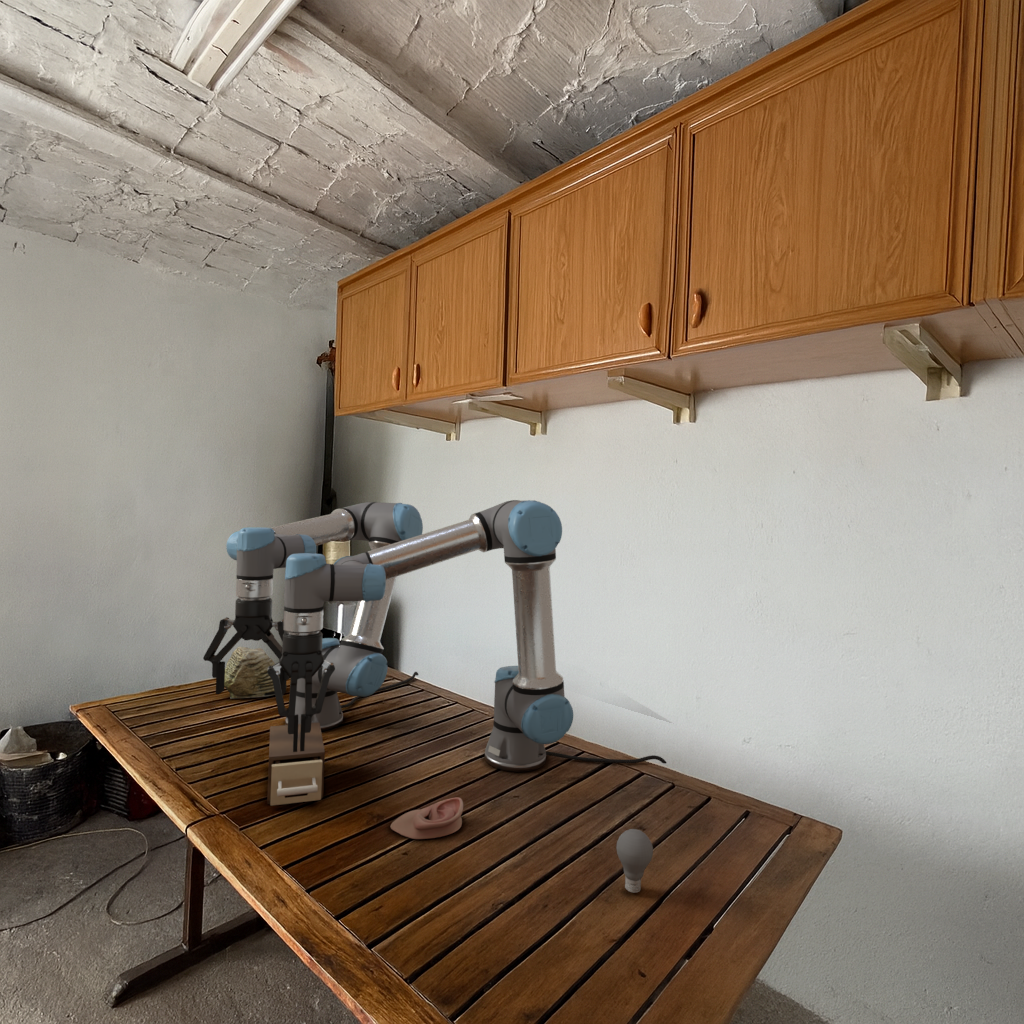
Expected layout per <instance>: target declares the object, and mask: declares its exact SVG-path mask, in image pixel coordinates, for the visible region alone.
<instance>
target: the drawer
mask: <svg viewBox="0 0 1024 1024" xmlns="http://www.w3.org/2000/svg"><path fill="white" fill-rule="evenodd" d="M321 788H322V760H318V756H317V757H306V758H296V759H285V760H275V764H272V775H271V802H270V804H269V805H270V806H279V805H281V806H282V805H289V804H297V803H303V802H305V803H306V802H313V801H315V802H316V801H321V800H322V798H321Z"/></svg>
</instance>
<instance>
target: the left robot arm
mask: <svg viewBox="0 0 1024 1024" xmlns="http://www.w3.org/2000/svg"><path fill="white" fill-rule="evenodd" d="M423 529H424V526H423V519H422V517H421V513H420V512H419V510H418V508H416V507H415V506H414V505H411V504H408V503H403V502H380V501H379V502H378V501H366V502H361V503H357V504H353V505H349V506H345V507H340V508H336V509H334V510H332V512H331V513H329V514H325V515H320V516H316V517H312V518H307V519H302V520H297V521H294V522H289V523H284V524H281V525H275V526H271V527H257V526H256V527H255V526H253V527H249V526H247V527H242V528H240V529H239V530H238V531H234V532H233V533H232V534H231V535H230V536H229V537H228V538H227V541H226V545H225V546H226V552H227V555H228V557H230V559H232V560H234V561H236V577H235V578H236V579H235V596H236V600H235V603H234V604H235V606H234V607H235V609H234V616H235V617H234V619H231V618H229V617H224V618H222V619H220V620H219V624H218V630H217V631H216V633H215V634H214V636H213V638H212V641H211V642H210V644H209V646H208V648H207V649H206V652H205V653H204V655H203V661H205V662H209V663H211V677H212V678H213V679H215V695H221V694H222V693H223V692H224V691H225V687H224V683H225V668H226V661H224V660H223V659H224V658H225V657H226V656H227V654H228V653H229V652H230V651H231V650H232V649H233V648H234V647H236V645H237V644H238V643H239V642H240V641H241V640H244V641H256V642H257V641H258V642H259V641H262V642H263V643H264V644H266V645H267V646H268V647H269V649H270V650H271V651H272V653H273V654H274V655H275V656H276V657H277V659H278V660H279V659H280V657H281V656H282V646H283V645H281V644H280V643H279V641H278V640H277V639H276V638H275V634H273V633H272V631H271V630H272V629H273V628H274V629H275V630H276V631H277V632H278V635H279V638H280V639H281V642H282V643H283V634H284V633H285V632H286V631H285V630H283V620H284V618H283V619H281V620H273V599H272V596H273V592H274V590H273V588H274V570H276V569H284V568H285V569H286V560H287V558H288V557H289V556H290V555H292V554H298V553H312V554H317V546H320V545H324V544H328V543H332V542H335V541H338V542H342V543H345V542H349V541H366V542H367V545H368V546H369V548H370V549H371V550H374V549H377V548H380V547H383V546H387V545H390V544H393V543H396V542H399V541H403V540H406V539H409V538H412V537H415V536H419V535H422V534H423V531H424V530H423ZM371 550H370V551H371ZM396 581H397V577H394V578H391V579H388V580H386V587H385V594H384V597H383V598H382V599H381V600H375V601H368V602H365V601H357V604H356V606H355V607H356V608H355V611H354V614H353V617H352V621H351V624H350V629H349V632H348V633H347V635H346V636H344V637H343V638H341V640H339V639H338V638H335V637H324V638H323V637H322V655H323V656H324V660H325V661H327V662H329V663H333V664H334V666H335V670H334V672H333V673H332V675H331V676H330V679H329V682H328V686H327V690H326V694H325V698H324V702H323V706H322V710H321V712H320V713H319V714H314V715H313V716H312V718H311V723H320V727H321V732H325V731H329V730H332V729H335V728H337V727H339V726H340V725H342V723H343V722H344V714H343V709H345V708H349V707H350V706H352V705H353V704H354V703H355V702H356V701H357V700H359V699H361V698H364V697H365V698H367V697H370V696H372V695H373V694H375V693H378V692H381V691H385V690H389V689H392V688H396V687H398V686H401V685H404V684H407V683H409V682H410V681H412V680H414V679H415V677H416V676H419V672H418V671H414V672H413V674H412V675H411V677H409V678H406V679H405V680H402V681H400V682H396V683H392V684H390V685H389V684H388V685H386V686H383V684H384V682H385V680H386V679H387V678H386V677H387V674H388V669H389V667H388V660H387V658H386V657H385V655H383V653H384V649H385V648H384V646H383V645H382V643H381V638H382V634H383V630H384V627H385V623H386V619H387V615H388V611H389V608H390V604H391V600H392V596H393V593H394V588H395V585H396ZM232 626H233V628H234V629H235V631H236V633H235V634H233V636H232V637H231V638H230V640H229V641H228V642H227V643H226V644H225V645H224V646H223V647H222V648H221V649H220V650H219V651H218V649H219V647H220V646H221V644H222V641H223V639H224V638H225V636H226V635H227V633H228V630H229V629H231V628H232ZM217 651H218V653H216V652H217ZM322 668H323V666H322V665H321V667H320V668H319V669H318V671H317V672H316V673H315V675H314V676H313V677H312V707H313V706H315V702H316V699H317V695H318V691H319V687H320V683H321V679H322V675H323V671H322ZM279 679H280V684H281V689H282V695H283V696H284V695H285V694H286V693H287V687H286V685H287V681H289V680H290V679H291V678H290V677H289V676H288V675H287V673H286V672H285V671H284V670H283V668H282V667H281V668H280V675H279ZM338 693H342V694H346V695H349V696H353V697H354V698H352V700H351V701H349V702H348V703H346V704H345V703H344V704H341V702H340V699H339V695H338ZM301 714H305V679H304V678H300V679H298V680H297V692H296V706H295V715H298V724H301ZM285 725H288V718H287V717H285Z"/></svg>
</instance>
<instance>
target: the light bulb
mask: <svg viewBox="0 0 1024 1024" xmlns="http://www.w3.org/2000/svg"><path fill="white" fill-rule="evenodd" d="M615 849H616V854H617V857H618V859H619V861H620V863H621V865H622V867H623V873H624V874H623V875H624V876H625V878H624V888H625V890H627V891H628V892H630V893H634V894H635V893H639V892H640V891H641V889H642V887H641V886H642V879H643V877H644V875H645V871H646V868H647V867H648V866H649V864H650V863H651V861H652V859H653V855H654V847H653V843H652V841H651V838H649V836H648V835H647V834H646V833H645V832H643V831H642V830H641V829H636V828H629V829H627V830H625V831H623V832H622V833H621V834H620V835H619V837H618V839H617V841H616V847H615Z"/></svg>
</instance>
